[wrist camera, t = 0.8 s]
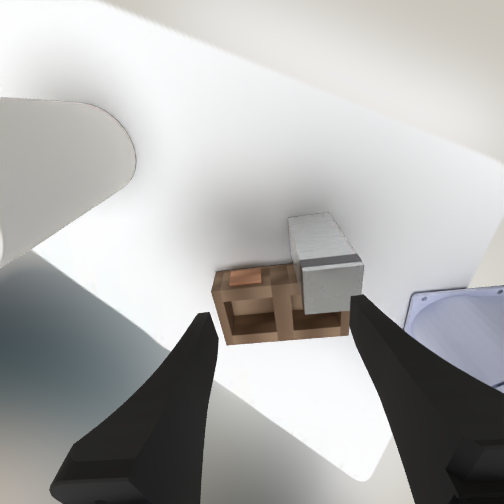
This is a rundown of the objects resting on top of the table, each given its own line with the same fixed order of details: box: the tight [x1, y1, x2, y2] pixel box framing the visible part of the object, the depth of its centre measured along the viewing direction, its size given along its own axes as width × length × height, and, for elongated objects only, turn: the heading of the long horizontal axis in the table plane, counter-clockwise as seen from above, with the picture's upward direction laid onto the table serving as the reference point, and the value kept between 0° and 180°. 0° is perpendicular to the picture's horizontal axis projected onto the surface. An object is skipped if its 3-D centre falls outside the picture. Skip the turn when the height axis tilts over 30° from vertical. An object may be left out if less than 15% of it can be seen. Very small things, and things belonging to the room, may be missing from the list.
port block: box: [211, 263, 350, 345], centre depth 24 cm, size 12×7×3 cm, turn 98°
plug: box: [288, 212, 364, 315], centre depth 18 cm, size 3×3×8 cm
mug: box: [0, 97, 136, 268], centre depth 14 cm, size 10×7×12 cm, turn 137°
